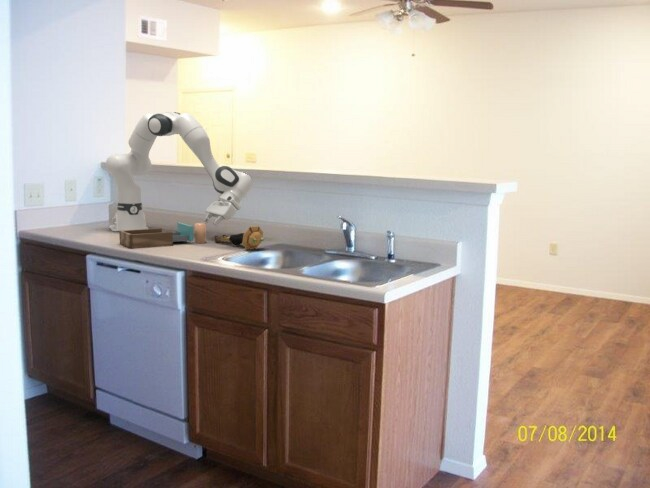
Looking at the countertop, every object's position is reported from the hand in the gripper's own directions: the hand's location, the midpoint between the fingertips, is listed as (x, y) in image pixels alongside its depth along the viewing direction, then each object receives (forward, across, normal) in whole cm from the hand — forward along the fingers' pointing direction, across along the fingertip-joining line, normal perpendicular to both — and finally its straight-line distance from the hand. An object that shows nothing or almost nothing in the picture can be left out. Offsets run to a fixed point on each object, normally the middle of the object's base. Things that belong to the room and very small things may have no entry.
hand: (209, 223), depth 290 cm
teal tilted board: (+19, -5, -8) cm, 21 cm away
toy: (+2, +17, +11) cm, 21 cm away
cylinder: (+10, 0, +3) cm, 10 cm away
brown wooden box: (+26, -5, -13) cm, 29 cm away
